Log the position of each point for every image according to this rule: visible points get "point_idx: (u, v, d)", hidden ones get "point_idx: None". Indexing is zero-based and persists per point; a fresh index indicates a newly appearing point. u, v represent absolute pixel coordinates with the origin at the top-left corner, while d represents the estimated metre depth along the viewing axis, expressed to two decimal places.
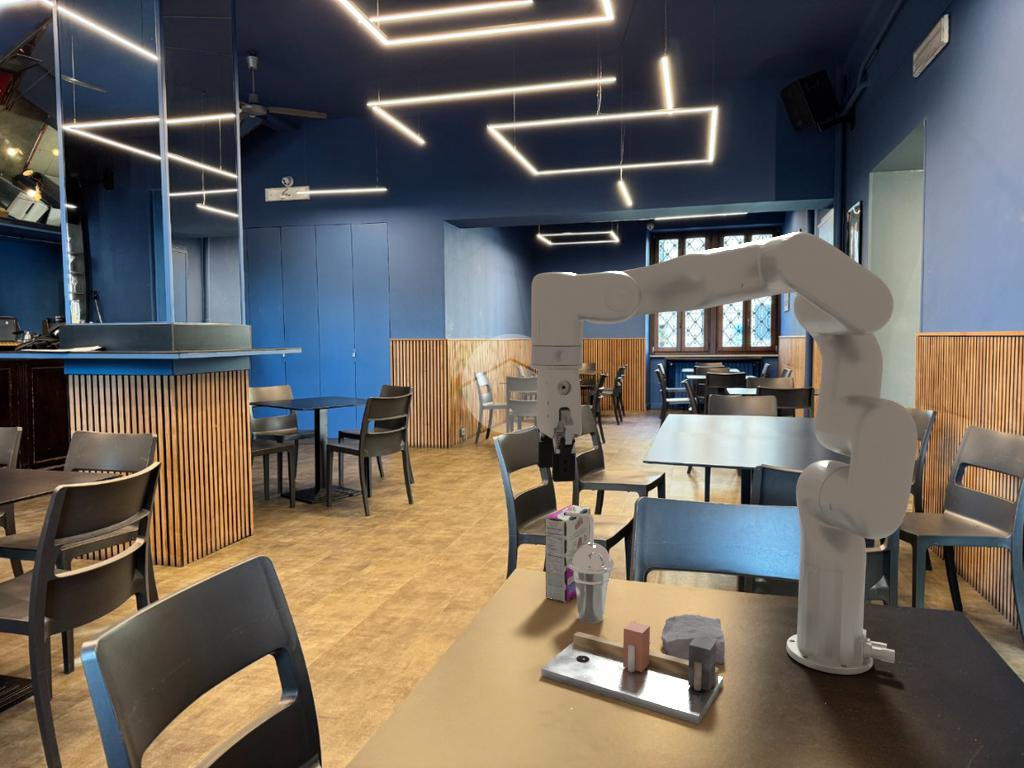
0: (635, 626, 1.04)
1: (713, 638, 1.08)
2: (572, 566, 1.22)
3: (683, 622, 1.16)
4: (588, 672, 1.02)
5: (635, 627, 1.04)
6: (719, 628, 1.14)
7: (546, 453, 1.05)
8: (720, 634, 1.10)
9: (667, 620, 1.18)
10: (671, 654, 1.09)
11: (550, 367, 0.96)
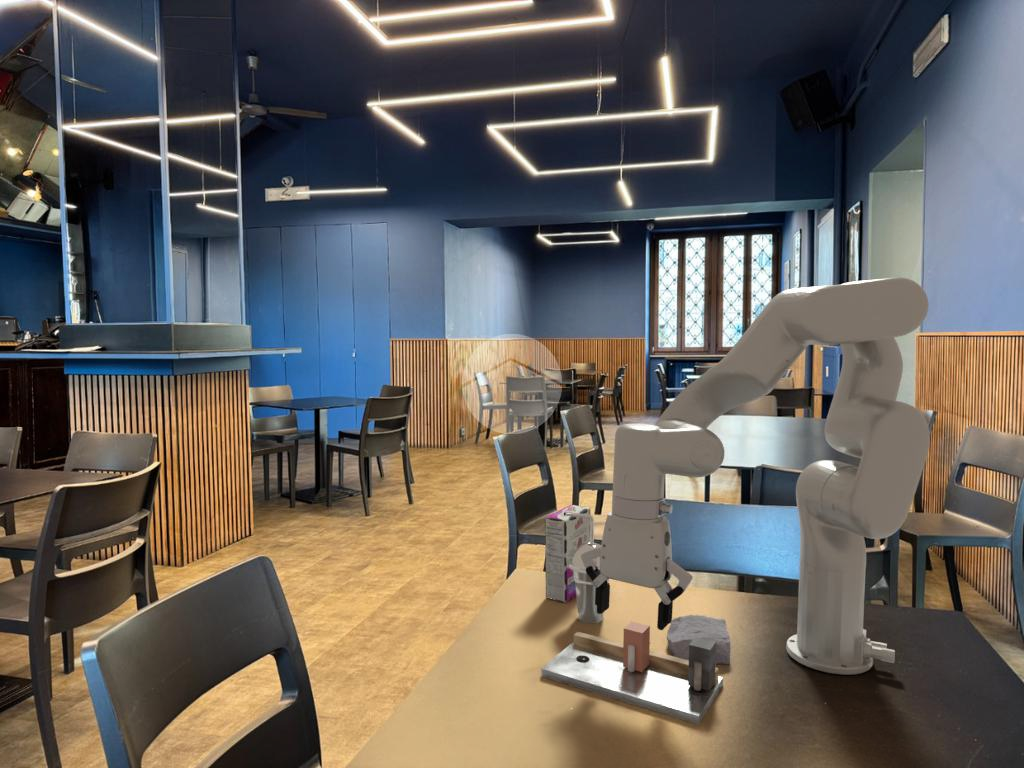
0: (635, 626, 1.04)
1: (719, 639, 1.08)
2: (572, 566, 1.22)
3: (688, 623, 1.15)
4: (588, 672, 1.02)
5: (635, 627, 1.04)
6: (724, 629, 1.14)
7: (604, 598, 1.05)
8: (726, 634, 1.09)
9: (672, 621, 1.18)
10: (677, 655, 1.09)
11: (654, 520, 0.99)
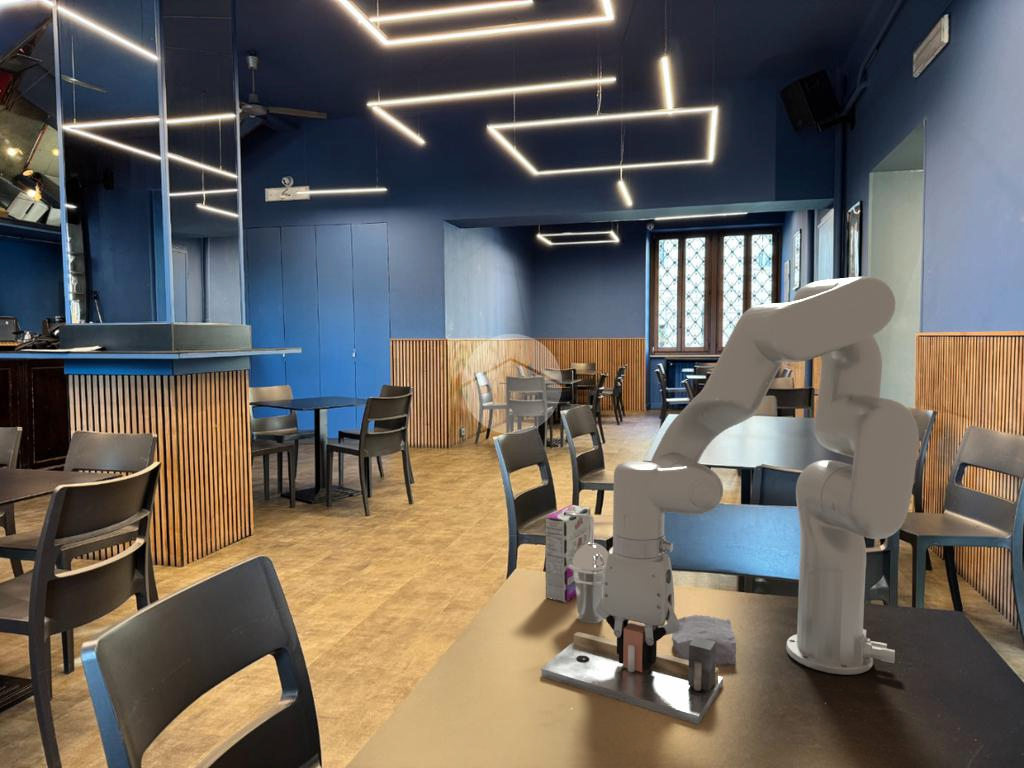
0: (635, 626, 1.04)
1: (725, 639, 1.08)
2: (572, 566, 1.22)
3: (693, 623, 1.15)
4: (588, 672, 1.02)
5: (635, 627, 1.04)
6: (729, 629, 1.14)
7: None
8: (731, 635, 1.09)
9: None
10: (682, 655, 1.09)
11: (655, 559, 0.99)
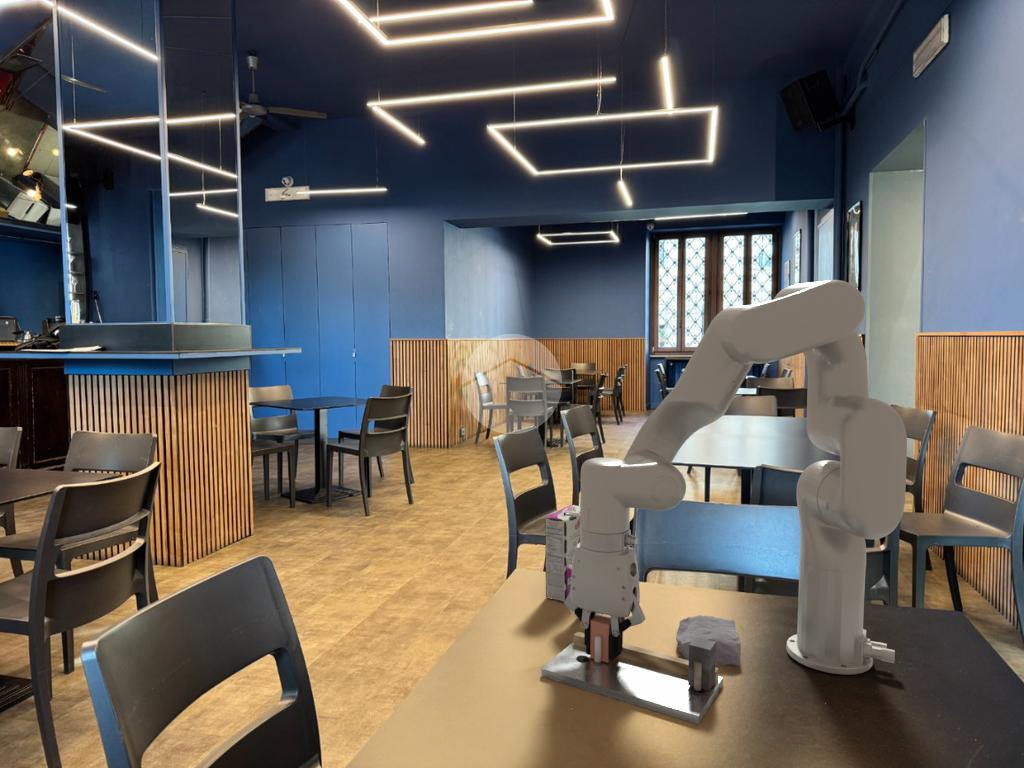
0: (602, 618, 1.07)
1: (730, 640, 1.08)
2: None
3: (697, 624, 1.15)
4: (588, 672, 1.02)
5: (602, 619, 1.06)
6: (734, 629, 1.13)
7: None
8: (736, 635, 1.09)
9: (681, 621, 1.17)
10: (687, 656, 1.09)
11: (620, 552, 1.02)
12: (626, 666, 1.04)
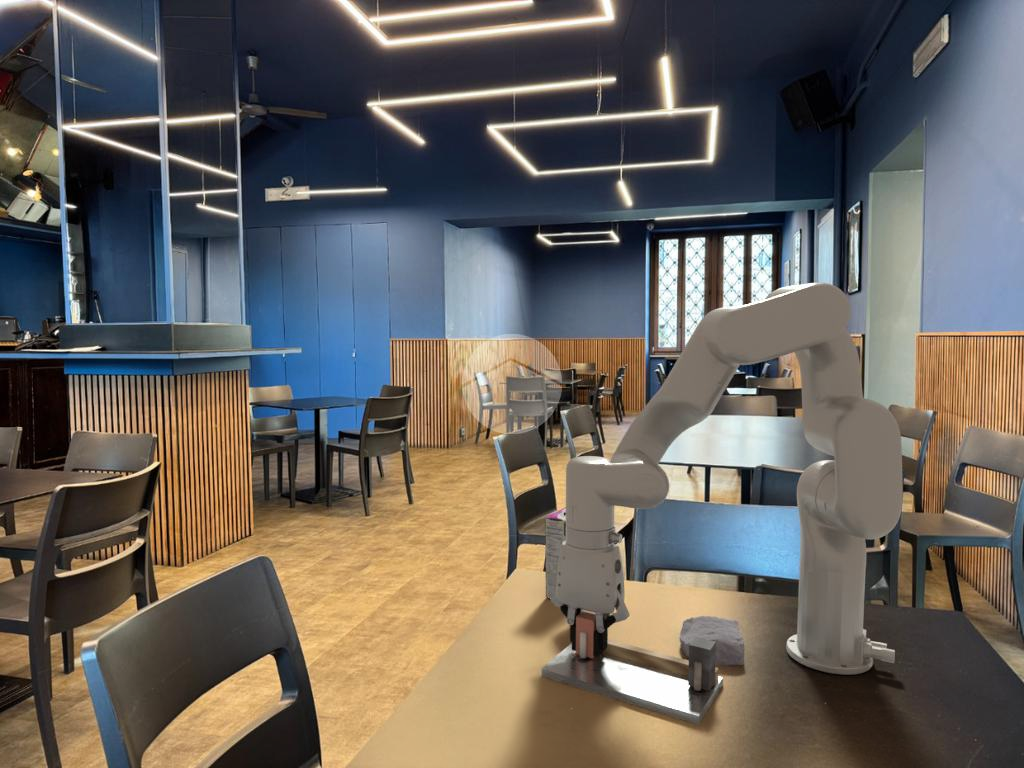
0: (587, 614, 1.08)
1: (733, 640, 1.08)
2: None
3: (701, 624, 1.15)
4: (588, 672, 1.02)
5: (587, 615, 1.08)
6: (737, 630, 1.13)
7: None
8: (739, 636, 1.09)
9: (684, 622, 1.17)
10: None
11: (604, 550, 1.04)
12: (626, 666, 1.04)
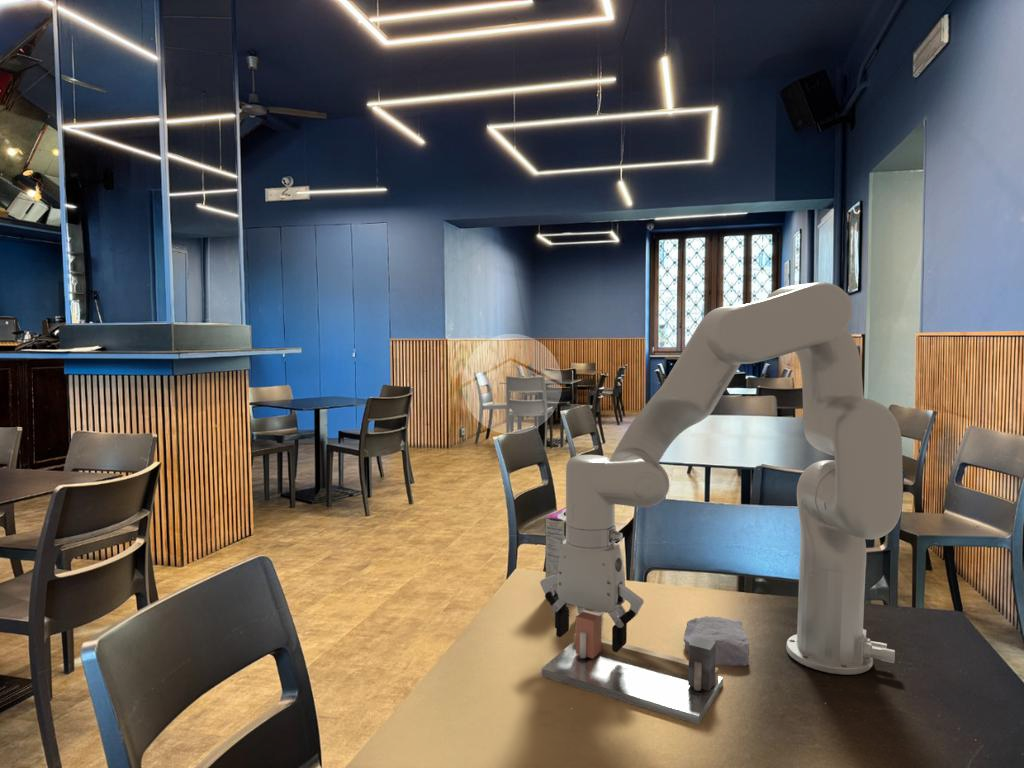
0: (587, 614, 1.08)
1: (738, 640, 1.07)
2: None
3: (705, 624, 1.15)
4: (588, 672, 1.02)
5: (587, 615, 1.08)
6: (741, 630, 1.13)
7: (563, 622, 1.10)
8: (744, 636, 1.09)
9: (688, 622, 1.17)
10: None
11: (605, 548, 1.04)
12: (626, 666, 1.04)
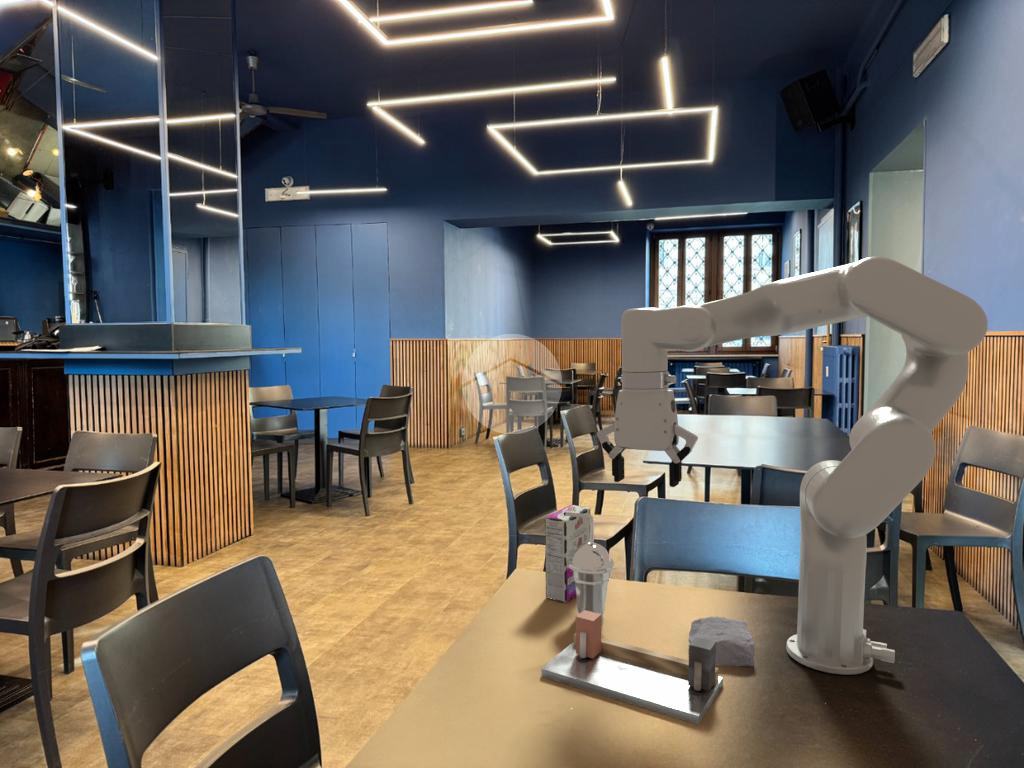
0: (587, 614, 1.08)
1: (743, 641, 1.07)
2: (572, 566, 1.22)
3: (709, 625, 1.15)
4: (588, 672, 1.02)
5: (587, 615, 1.08)
6: (746, 630, 1.13)
7: (620, 468, 1.18)
8: (749, 636, 1.09)
9: (693, 623, 1.17)
10: None
11: (661, 390, 1.12)
12: (626, 666, 1.04)
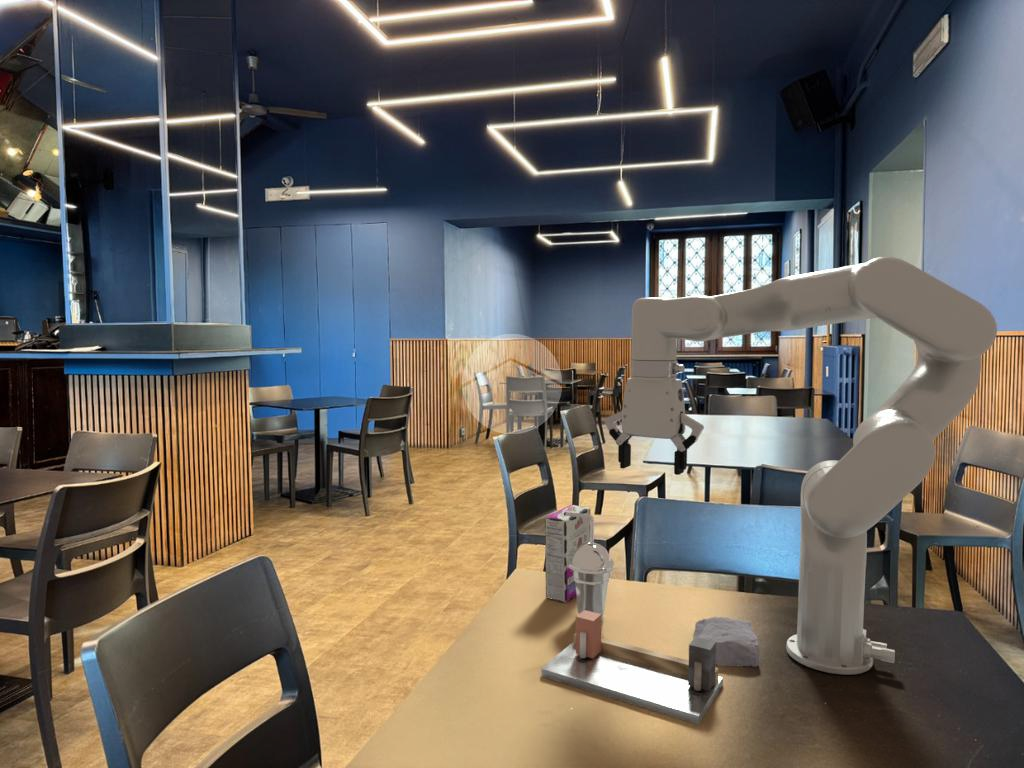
0: (587, 614, 1.08)
1: (748, 641, 1.07)
2: (572, 566, 1.22)
3: (714, 625, 1.15)
4: (588, 672, 1.02)
5: (587, 615, 1.08)
6: (751, 631, 1.13)
7: (626, 455, 1.19)
8: (754, 637, 1.09)
9: (697, 623, 1.17)
10: None
11: (669, 378, 1.13)
12: (626, 666, 1.04)
